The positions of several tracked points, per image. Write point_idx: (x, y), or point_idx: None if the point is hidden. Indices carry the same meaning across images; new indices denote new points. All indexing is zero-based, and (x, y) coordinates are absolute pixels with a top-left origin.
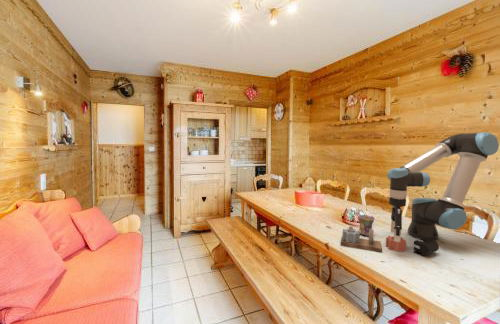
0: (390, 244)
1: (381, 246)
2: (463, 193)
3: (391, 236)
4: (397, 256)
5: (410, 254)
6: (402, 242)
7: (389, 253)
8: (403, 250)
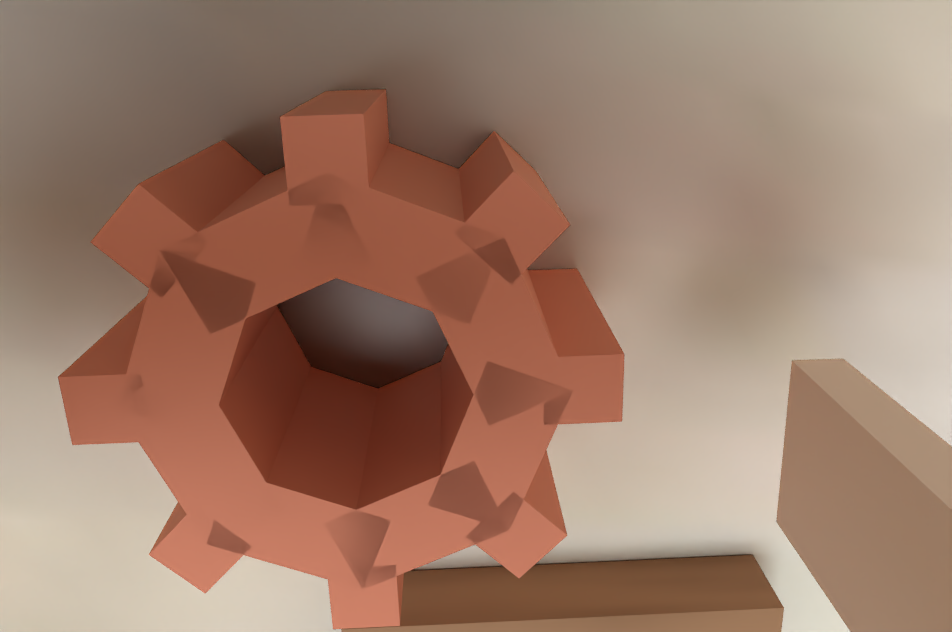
0: (548, 473)
1: (661, 618)
2: None
3: (195, 502)
4: (850, 301)
5: (632, 12)
6: (548, 236)
7: (748, 434)
8: (521, 157)
